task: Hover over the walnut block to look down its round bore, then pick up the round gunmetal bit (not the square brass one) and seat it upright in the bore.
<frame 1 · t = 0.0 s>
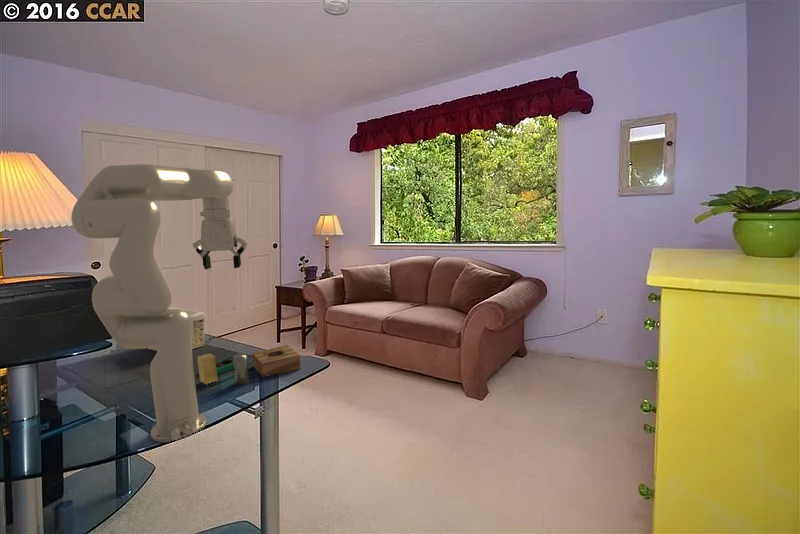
hand: (222, 268, 133), 37 cm above the table, tool pointing down, fingers open, 9 cm apart
bore block: (276, 367, 146), on the table
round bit: (242, 382, 134), on the table
digital multimeter: (226, 369, 147), on the table
storage basket: (175, 347, 173), on the table
square bit: (209, 382, 135), on the table
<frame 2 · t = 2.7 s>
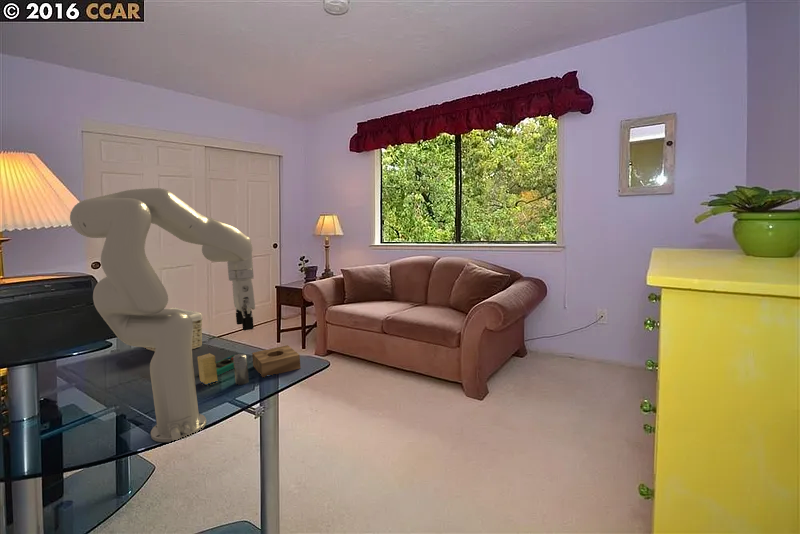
hand: (244, 326, 133), 18 cm above the table, tool pointing down, fingers open, 9 cm apart
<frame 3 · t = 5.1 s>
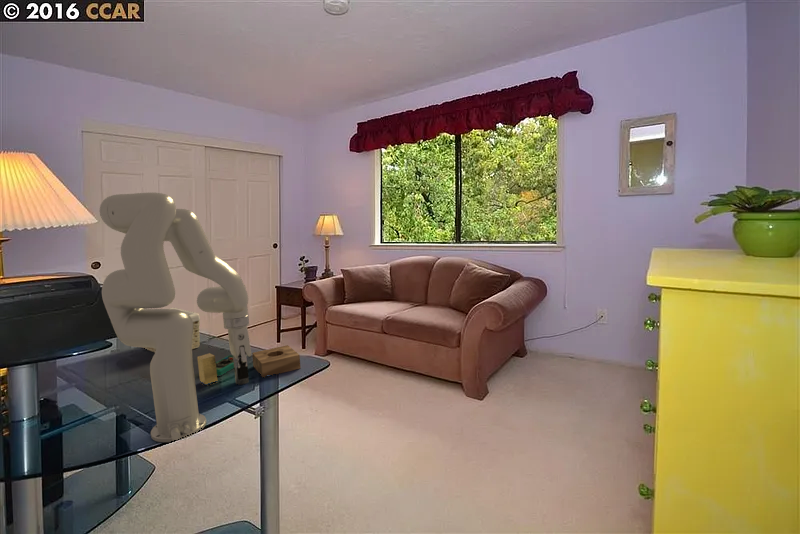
hand: (241, 375, 133), 2 cm above the table, tool pointing down, fingers closed on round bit, 4 cm apart
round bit: (242, 382, 134), on the table, touching gripper
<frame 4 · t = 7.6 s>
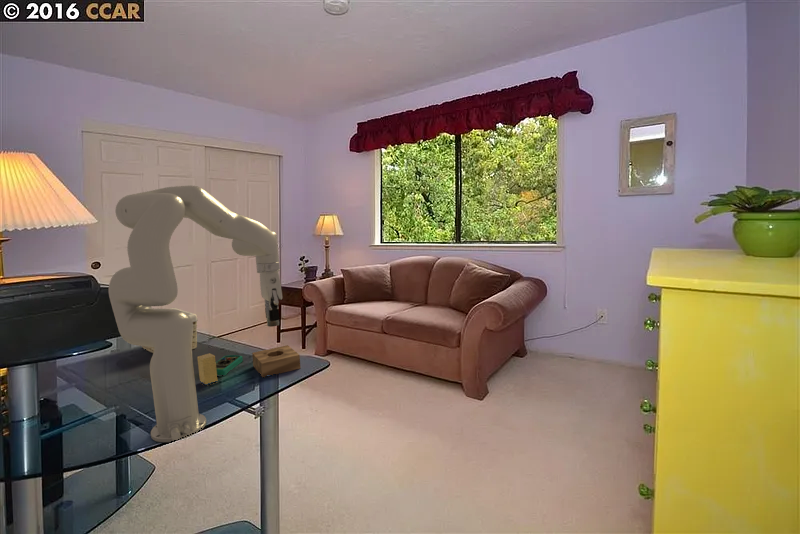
hand: (272, 318, 143), 18 cm above the table, tool pointing down, fingers closed on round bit, 4 cm apart
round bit: (273, 324, 144), point 15 cm above the table, touching gripper
when the fingers open (6 cm above the table, at t = 10.3 s): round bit drops 3 cm, resting in bore block.
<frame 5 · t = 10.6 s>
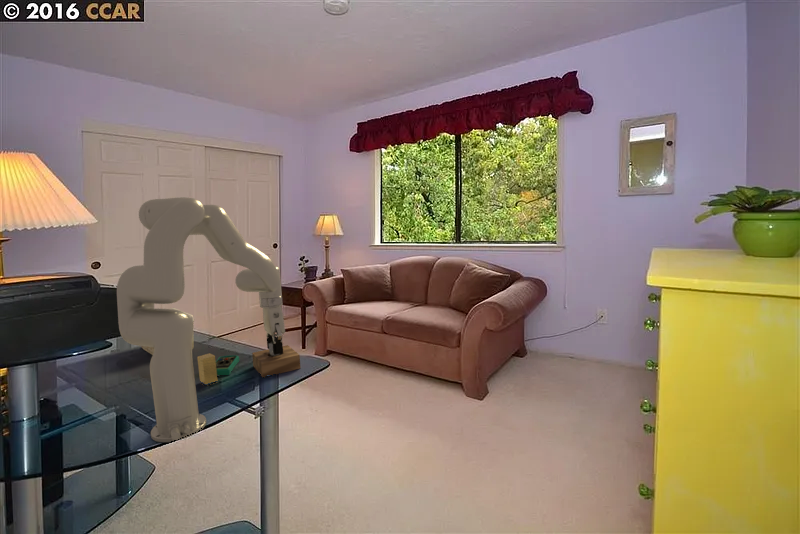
hand: (275, 350, 145), 6 cm above the table, tool pointing down, fingers open, 6 cm apart
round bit: (276, 367, 146), resting in bore block
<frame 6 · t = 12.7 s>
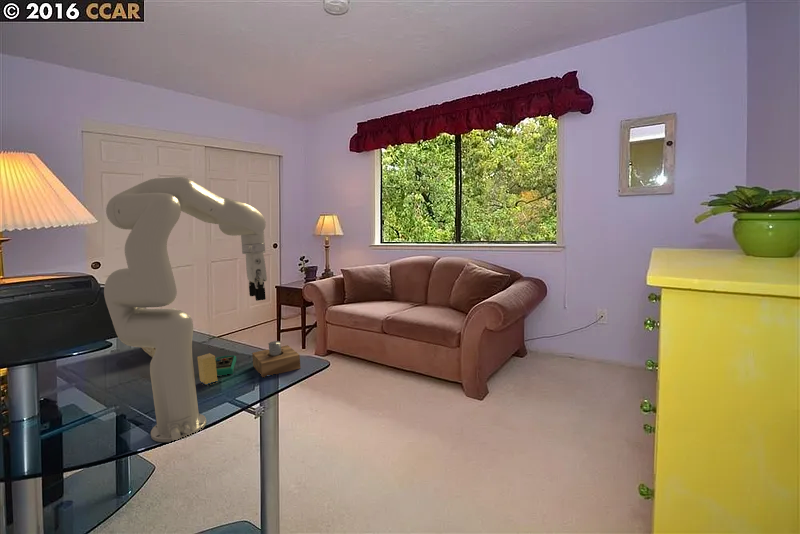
hand: (257, 297, 143), 25 cm above the table, tool pointing down, fingers open, 9 cm apart
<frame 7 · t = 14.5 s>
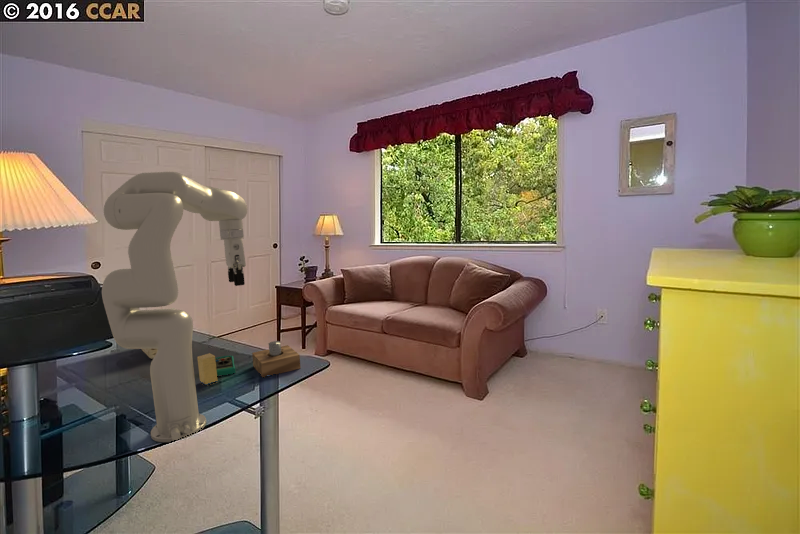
hand: (236, 283, 144), 30 cm above the table, tool pointing down, fingers open, 9 cm apart
at the end: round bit 0.0 cm off-centre on the bore block, point 0.0 cm above the bore block's base; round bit tilted 0°; the gripper is holding nothing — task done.
